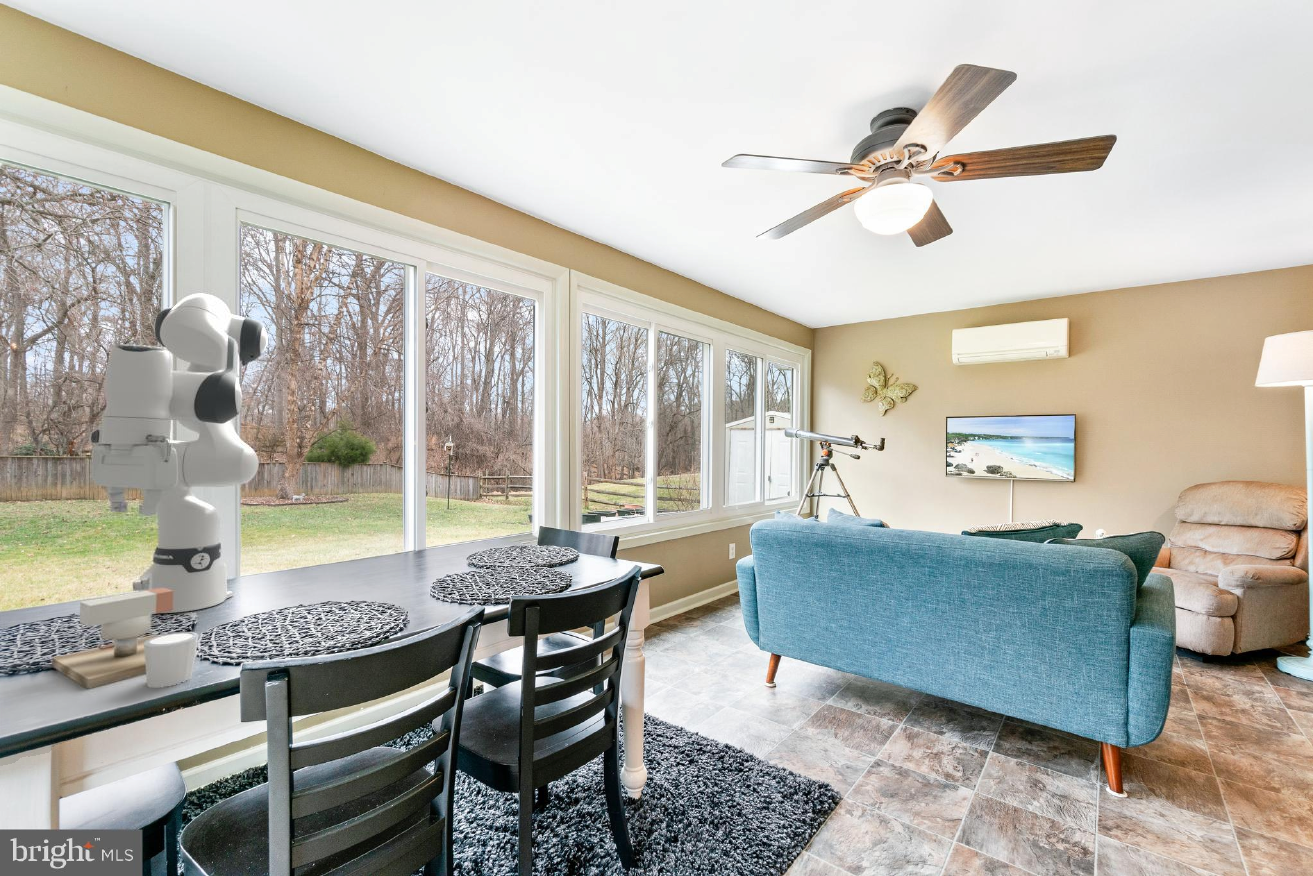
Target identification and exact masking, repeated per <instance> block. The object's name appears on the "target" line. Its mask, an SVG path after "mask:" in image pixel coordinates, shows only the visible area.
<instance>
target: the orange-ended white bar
mask: <svg viewBox="0 0 1313 876" xmlns="http://www.w3.org/2000/svg"><path fill="white" fill-rule="evenodd" d="M172 610H173V591H172V590H169V589H166V588H157V589H151V590H147V591H141V592H138V591H134V592H131V593H125V594H124V593H123V594H119V595H113V596H107V597H101V598H97V599H96V598H95V599H89V600H83V601H80V606H79V623H80V624H83V625H85V626H86V627H89V628H90V627H95V626H99V625H100V626H101V627H100V639H103V640H114V639H124V638H130V637H135V636H138V637H139V636H141V635H144V634H145V635H146V634H147V633H149V632H151V630H152V615H155V614H163V613H162V612H167V611H172Z"/></svg>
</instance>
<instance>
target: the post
mask: <svg viewBox="0 0 1313 876" xmlns="http://www.w3.org/2000/svg"><path fill="white" fill-rule="evenodd" d="M138 638H139V636H135V637H130V638H124V639H113V643H114V657H115V658H123V657H128V656H132V655H135V654H136V653H137V641H138Z"/></svg>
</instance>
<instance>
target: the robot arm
mask: <svg viewBox="0 0 1313 876" xmlns="http://www.w3.org/2000/svg"><path fill="white" fill-rule="evenodd" d="M153 331H154V335H155V338H156V341H157V342H158V343H159V344H160V346H161V347H160V346H156V345H155V346H153V345H143V344H126V343H124V344H118V345H116V346H113V347H112V349H111V351H110V353H109V357H108V359H107V360H108V361H107V365H106V370H105V376H104V388H103V389H104V391H103V393H104V397H105V399H106V406H105V409H104V411H103V413H102V419H101V420H102V423H100V425H99V426H98V427H97V428H96V429H94V430H92V431H91V432H90V433H89V440H88V441H89V444H90V445H94V446H93V447H92V451H91V478H92V481H93V482H94V484H95V486H101V487H106V495H107V497H108V499H109V500H108V501H109V503H110V508H109V511H110V512H112V513H125V512H127V511H128V505H129V504H128V502H127V501H126V497H125V495H126V494H125V493H127V489H138V490H141V492H142V493H141V494H142V496H143V499H142V502H141V504H140V505H139V507H138V510H139V511H138V515H139V516H144V517H147V516H148V517H149V516H150V517H151V516H155V515H157V516H156V517H157V526H158V528H157V529H158V530H157V531H158V533H157V534H158V540H157V541H158V542H157V546H156V547H155V548H154V549H155V551H154V552H153V557H152V558H153V559H152V562H153V563H152V564H151V566H150V567H149V568H147V570H146V571H145V572H144V573H143V574H141V575H140V576H139V579H138V580H134V581H133V582H132V590H133V591H134V592H141V591H147V590H151V589H157V588H166V589H169V590H172V591H173V610H172V611H167V612H162V613H161V614H168V613H169V614H172V613H183V612H189V611H190V612H191V611H197V610H201V609H205V608H206V609H207V608H210V607H214V606H217V605H219V604H221V603H223V602H224V601H226V600H227V599H228V598H231V597H233V595H234V592H233V591H230V590H228V581H227V580H228V579H227V578H228V577H227V565H226V563H224V562H222V560H220V558H221V556H222V555H221V553H222V547H221V542H220V540H219V539H220V523H221V522H220V520H221V515H220V512H219V511H218V509H217V508H216V507H215V506H213V505H212V504H211V503H207V502H206V501H205V502H204V501H202V500H200V499H198V498H197V497H196V496H195V494H194V493H193V489H192V488H193V487H194V488H198V487H199V488H202V487H203V488H204V487H205V488H206V487H207V488H212V487H213V488H226V487H232V486H234V487H235V486H238V485H245V484H248V483H250V482H251V480H252V479H253V478H254V477H255V476H256V475H257V472H258V470H259V464H260V462H259V457H258V455H257V453H256V451H255V450H254V449H253V448H252V447H251V446H250V445H248V444H247V443H245V442H244V441H243V440H242V439H241V438H240V436H239V435H238V434H237V432H236V430H235V427H234V419H235V417H237V416H238V415H239V414H240V411H241V409H242V404H243V393H242V389H241V385H240V384H241V381H240V380H241V365H242V367H246V366H247V365H248V364H250V362H254V361H256V360H257V359H259V358H260V357H261V356H262V355H263V354H264V352H265V350H266V347H267V345H268V333H267V330H266V327H265V325H264V324H263V322H261V321H259V320H257V319H254V318H251V317H249V316H246V317H243V316H241V315H235V314H231V312H230V309H229V307H228V306H227V304H226V303H225V302H223V300H221V299H220V298H218V297H216V296H214V295H212V294H207V293H193V294H191V295H188V296H186V297H184V298H183V299H182V300H180V301H179V302H178V303H176V304H175V305H174V306H171V307H166V308H164V309H162V310H160V311H159V312H158V314H157V316H156V317H155V320H154V323H153ZM171 354H172V355H173V356H174V357H175V358H178V359H180V360H181V361H184V362H187V363H190V364H189V365H188V368H187V370H186V371H185V370H173V366H172V359H171ZM172 421H177V422H178V423H179V424H180V425H182V426H183V427H185V428H186V429H188V430H190V431H192V432H195V433H197V434H199V436H198V438H197V439H196V440H175V439H172V440H171V430H172Z"/></svg>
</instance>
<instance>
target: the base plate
mask: <svg viewBox="0 0 1313 876" xmlns="http://www.w3.org/2000/svg"><path fill="white" fill-rule="evenodd" d="M157 636H159V635H158V634H150V635H147V636H141V637H138V641H137V653H136V654H135V655H132V656H128V657H123V658H115V657H114V642H113V643H110V644H104V645H100V646H98V647H94V648H89V649H85V650H80V651H77V652H71V653H67V654H62V655H59V656H53V657H52V658H51V666H52V665H53V667H52V668H54V669H55V670H57V671H58V672H60V673H62V674H63V675H65V676H66V677H68V678H70V679H72V680H74V681H75V682H76V683H78V684H80V685H81V686H83V687H84V688H86V689H87V690H89V689H93V688H96V687H99V686H102V685H106V684H110V683H115V682H118V681H122V680H126V679H128V678H133V677H136V676H140V675H144V674H146V665H145V651H144V642H145V641H147V640H149V639H151V638H153V637H157Z"/></svg>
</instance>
